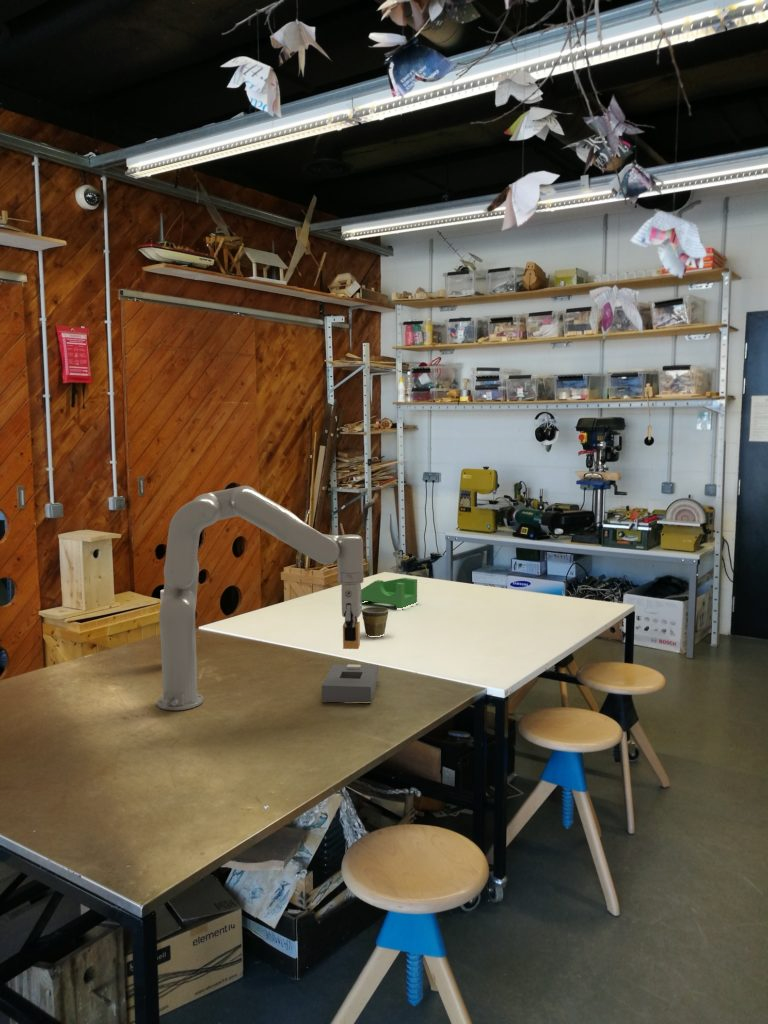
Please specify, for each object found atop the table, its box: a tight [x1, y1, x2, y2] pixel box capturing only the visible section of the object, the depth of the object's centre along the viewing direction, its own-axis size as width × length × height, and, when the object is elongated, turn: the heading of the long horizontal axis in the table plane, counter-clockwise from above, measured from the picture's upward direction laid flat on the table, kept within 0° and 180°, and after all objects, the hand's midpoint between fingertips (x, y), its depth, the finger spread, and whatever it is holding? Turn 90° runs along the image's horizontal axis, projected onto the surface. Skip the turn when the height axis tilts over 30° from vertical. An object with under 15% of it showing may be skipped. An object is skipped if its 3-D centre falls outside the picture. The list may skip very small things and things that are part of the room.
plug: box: [342, 616, 361, 650], centre depth 225 cm, size 4×4×9 cm
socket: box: [321, 663, 379, 703], centre depth 227 cm, size 20×14×6 cm
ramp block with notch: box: [361, 577, 418, 609], centre depth 340 cm, size 24×13×12 cm, turn 57°
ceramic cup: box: [361, 606, 389, 636], centre depth 290 cm, size 13×10×10 cm
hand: (351, 637), depth 225 cm, fingers closed on plug, 4 cm apart
